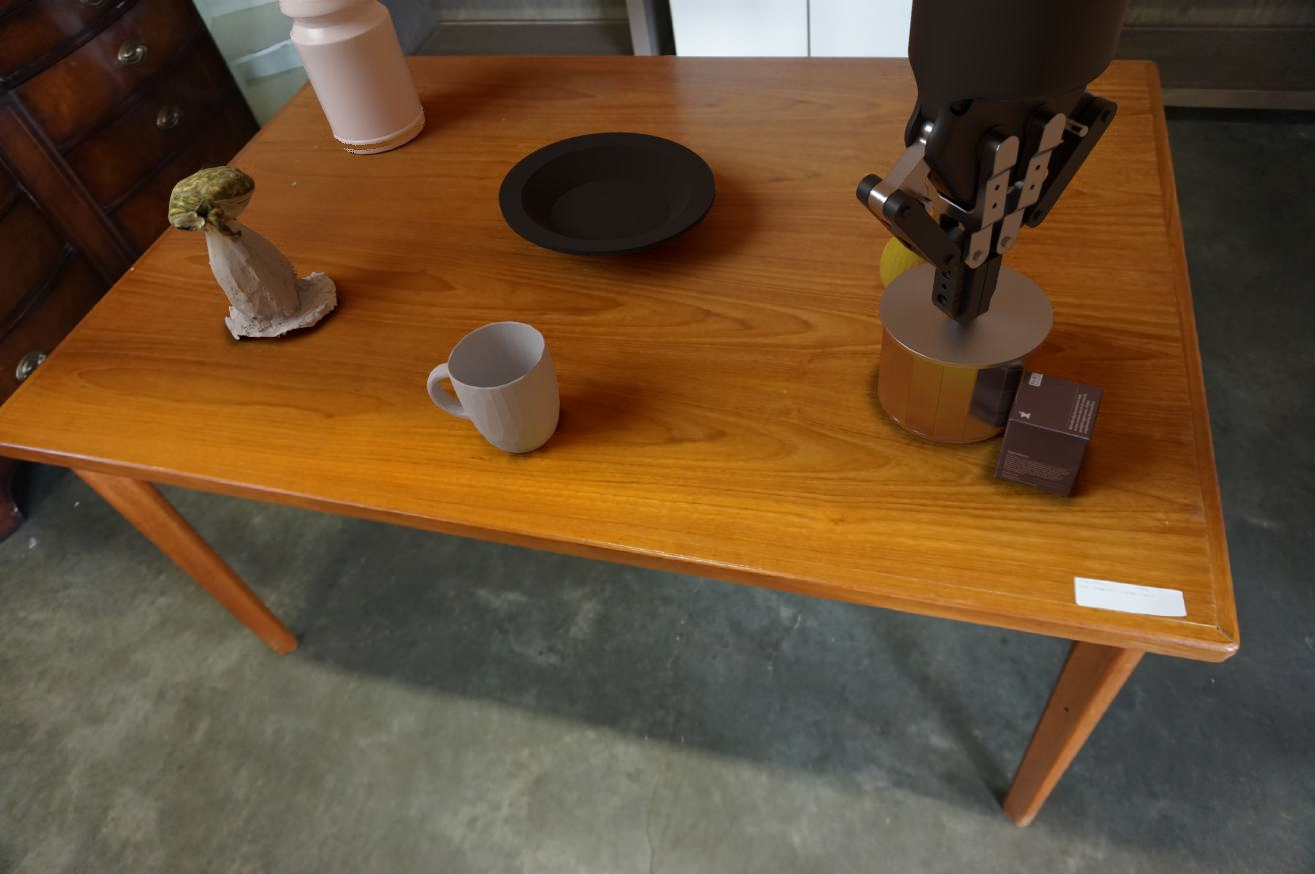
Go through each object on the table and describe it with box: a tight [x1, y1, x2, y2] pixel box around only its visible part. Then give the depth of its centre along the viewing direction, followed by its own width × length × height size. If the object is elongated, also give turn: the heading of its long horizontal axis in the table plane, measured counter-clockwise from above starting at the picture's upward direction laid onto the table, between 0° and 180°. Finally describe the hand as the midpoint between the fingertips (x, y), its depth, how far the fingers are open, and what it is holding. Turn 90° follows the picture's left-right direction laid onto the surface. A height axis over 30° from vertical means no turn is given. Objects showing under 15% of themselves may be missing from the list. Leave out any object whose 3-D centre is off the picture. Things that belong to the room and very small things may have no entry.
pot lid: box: [878, 263, 1054, 369], centre depth 69 cm, size 14×14×6 cm
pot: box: [876, 327, 1042, 445], centre depth 74 cm, size 13×13×10 cm
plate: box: [498, 131, 717, 258], centre depth 100 cm, size 28×24×6 cm
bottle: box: [278, 0, 426, 155], centre depth 117 cm, size 14×14×28 cm
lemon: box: [879, 235, 928, 289], centre depth 84 cm, size 6×6×8 cm
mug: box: [426, 320, 561, 454], centre depth 78 cm, size 13×9×10 cm
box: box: [993, 372, 1104, 498], centre depth 68 cm, size 6×6×7 cm
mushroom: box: [167, 165, 338, 340], centre depth 92 cm, size 12×13×18 cm
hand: (960, 310), depth 42 cm, fingers closed
